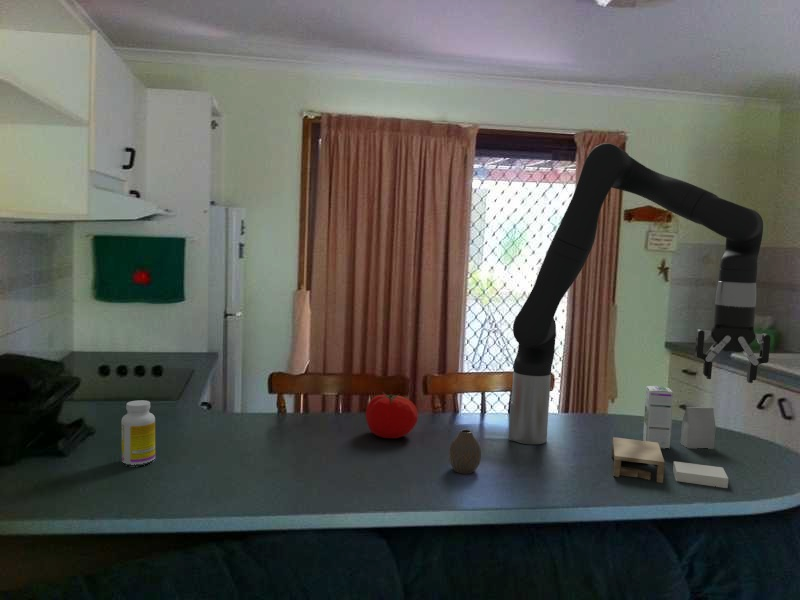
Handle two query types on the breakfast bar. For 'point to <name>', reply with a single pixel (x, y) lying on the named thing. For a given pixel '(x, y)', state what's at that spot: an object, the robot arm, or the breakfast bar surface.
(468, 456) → the vase
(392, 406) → the tomato
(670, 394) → the syrup box
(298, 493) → the breakfast bar surface
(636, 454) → the small tan table
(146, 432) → the supplement bottle
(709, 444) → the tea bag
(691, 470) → the tile
